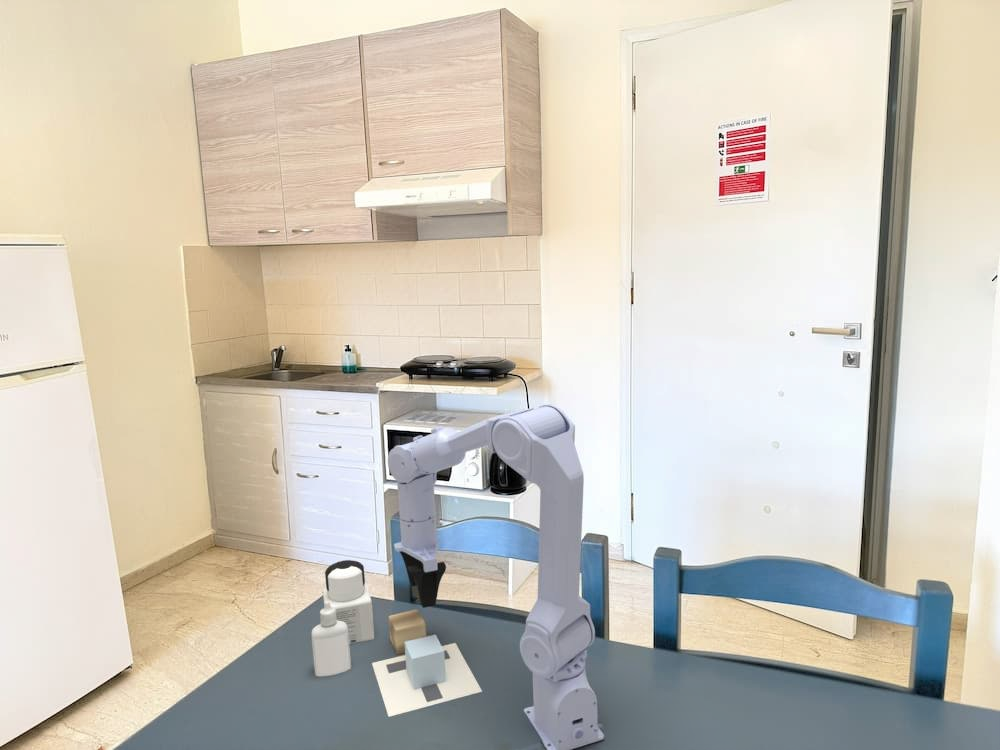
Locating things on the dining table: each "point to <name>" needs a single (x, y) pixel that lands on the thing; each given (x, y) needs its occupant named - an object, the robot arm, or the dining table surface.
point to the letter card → (406, 698)
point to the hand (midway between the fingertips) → (422, 594)
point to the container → (350, 598)
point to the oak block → (406, 629)
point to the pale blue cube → (425, 661)
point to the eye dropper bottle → (330, 644)
